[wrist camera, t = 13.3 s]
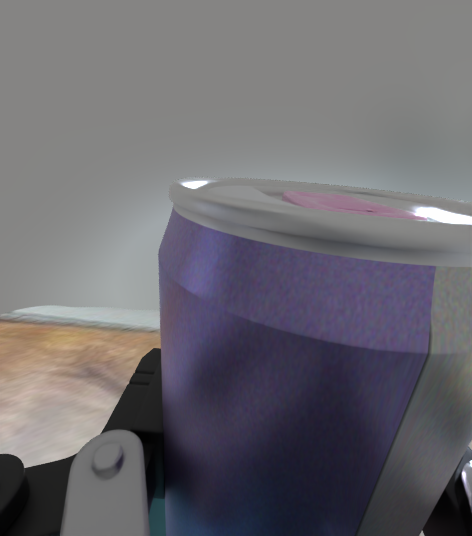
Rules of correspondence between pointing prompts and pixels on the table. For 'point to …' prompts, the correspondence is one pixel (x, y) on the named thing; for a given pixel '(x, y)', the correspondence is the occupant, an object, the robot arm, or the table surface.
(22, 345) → the table surface
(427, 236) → the beverage can
